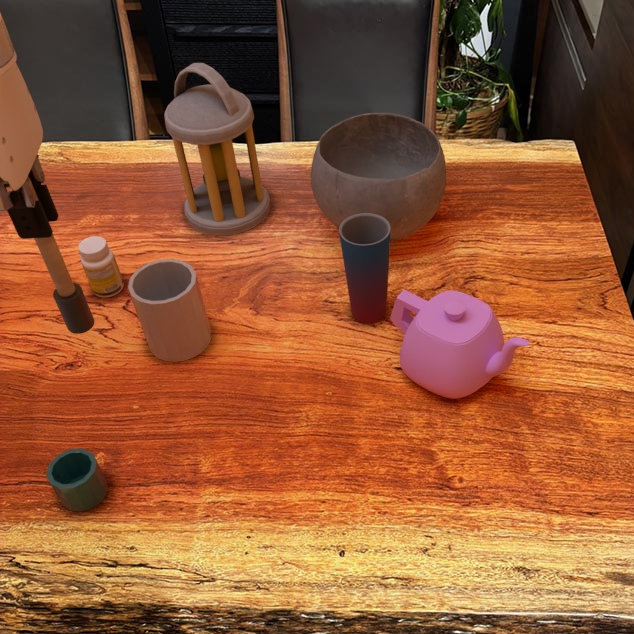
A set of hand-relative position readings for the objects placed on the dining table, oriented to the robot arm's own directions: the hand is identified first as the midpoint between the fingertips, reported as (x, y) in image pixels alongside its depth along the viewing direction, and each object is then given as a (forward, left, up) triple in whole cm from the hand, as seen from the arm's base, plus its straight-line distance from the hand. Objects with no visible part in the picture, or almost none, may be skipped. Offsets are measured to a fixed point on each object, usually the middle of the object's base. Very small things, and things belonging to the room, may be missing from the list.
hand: (39, 227), depth 79 cm
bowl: (+36, +38, -32) cm, 61 cm away
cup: (+33, +18, -32) cm, 49 cm away
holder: (-3, -10, -32) cm, 34 cm away
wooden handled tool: (0, 0, -14) cm, 14 cm away
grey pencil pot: (+6, +15, -32) cm, 36 cm away
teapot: (+44, +6, -32) cm, 55 cm away
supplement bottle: (-6, +27, -32) cm, 43 cm away
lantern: (+11, +45, -32) cm, 57 cm away
